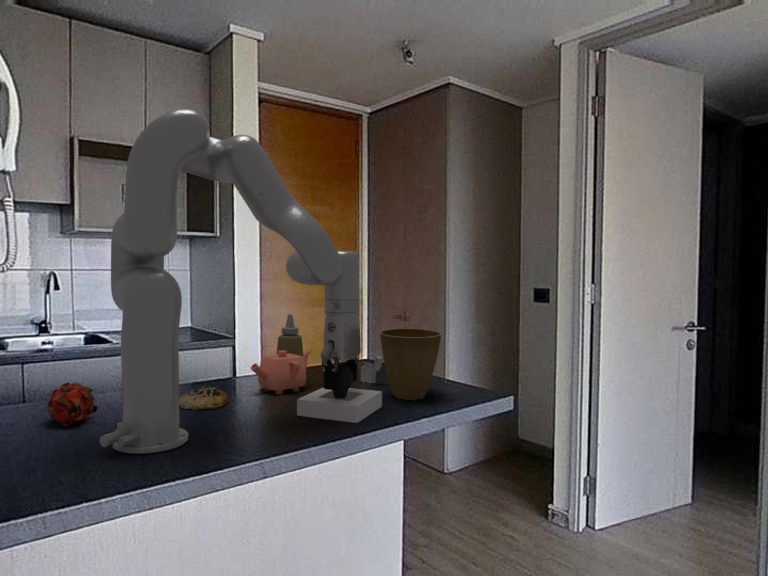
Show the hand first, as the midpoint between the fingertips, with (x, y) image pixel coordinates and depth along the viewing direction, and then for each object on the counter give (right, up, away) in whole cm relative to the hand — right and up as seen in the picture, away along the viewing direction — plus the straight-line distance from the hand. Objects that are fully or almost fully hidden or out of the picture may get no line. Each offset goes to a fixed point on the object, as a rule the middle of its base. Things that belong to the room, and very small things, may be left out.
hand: (340, 384), depth 124 cm
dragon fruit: (-53, -6, -10) cm, 55 cm away
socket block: (0, -6, 0) cm, 6 cm away
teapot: (-16, -5, +19) cm, 26 cm away
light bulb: (0, -6, 0) cm, 6 cm away
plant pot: (+16, -6, +14) cm, 21 cm away
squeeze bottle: (-17, -4, +32) cm, 37 cm away
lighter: (+6, -5, +28) cm, 29 cm away
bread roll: (-32, -6, +5) cm, 33 cm away
